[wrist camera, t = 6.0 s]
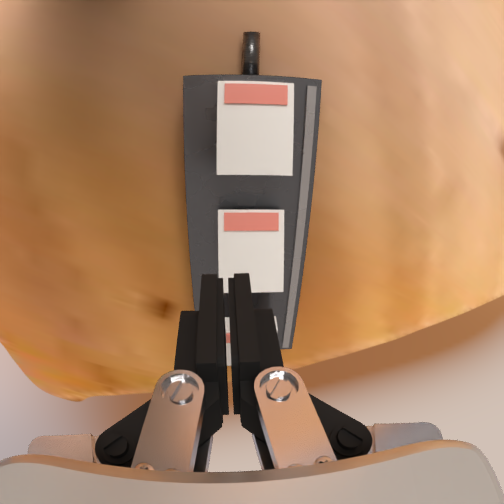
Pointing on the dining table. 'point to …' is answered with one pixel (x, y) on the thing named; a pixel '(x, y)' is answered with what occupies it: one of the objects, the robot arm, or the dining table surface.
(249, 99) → the plate
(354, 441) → the robot arm
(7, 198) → the dining table surface
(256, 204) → the power strip
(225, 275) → the rocker
